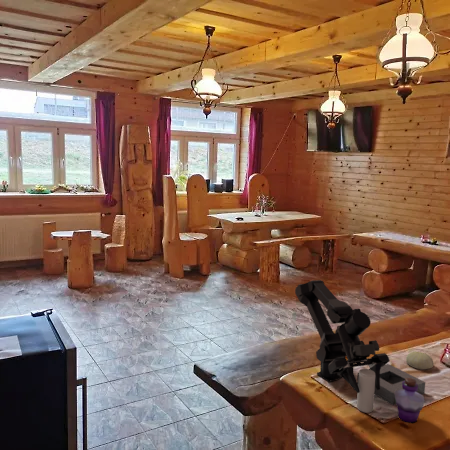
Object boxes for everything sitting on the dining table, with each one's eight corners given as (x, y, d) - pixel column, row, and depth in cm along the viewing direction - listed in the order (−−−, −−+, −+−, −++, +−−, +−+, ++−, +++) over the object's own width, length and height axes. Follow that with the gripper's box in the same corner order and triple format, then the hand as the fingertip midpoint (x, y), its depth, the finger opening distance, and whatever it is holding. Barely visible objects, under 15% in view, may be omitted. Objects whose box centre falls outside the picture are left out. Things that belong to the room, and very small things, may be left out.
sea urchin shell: (407, 352, 173) (423, 342, 169) (421, 370, 170) (438, 360, 166) (400, 360, 165) (418, 350, 161) (415, 379, 163) (433, 369, 159)
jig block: (356, 384, 151) (357, 372, 151) (387, 374, 158) (388, 363, 158) (392, 405, 138) (393, 393, 138) (424, 393, 146) (425, 382, 145)
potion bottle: (397, 406, 137) (400, 370, 136) (427, 417, 132) (430, 379, 130) (387, 418, 131) (390, 380, 129) (418, 430, 125) (421, 390, 124)
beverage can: (374, 414, 133) (376, 376, 131) (357, 412, 134) (359, 374, 132) (372, 406, 138) (374, 369, 136) (355, 404, 139) (358, 367, 137)
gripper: (334, 334, 134) (352, 386, 125) (388, 328, 139) (409, 378, 130) (321, 348, 142) (336, 398, 133) (371, 342, 147) (390, 390, 138)
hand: (368, 391), depth 133 cm, fingers open, 7 cm apart
